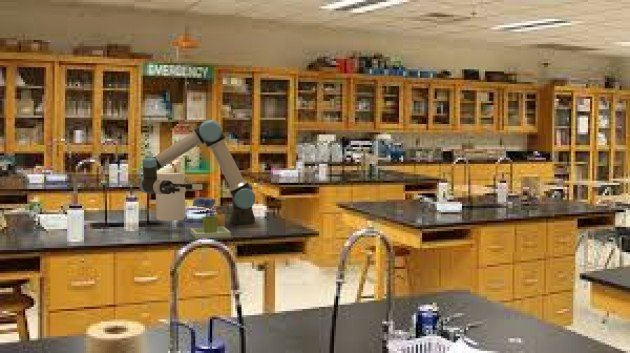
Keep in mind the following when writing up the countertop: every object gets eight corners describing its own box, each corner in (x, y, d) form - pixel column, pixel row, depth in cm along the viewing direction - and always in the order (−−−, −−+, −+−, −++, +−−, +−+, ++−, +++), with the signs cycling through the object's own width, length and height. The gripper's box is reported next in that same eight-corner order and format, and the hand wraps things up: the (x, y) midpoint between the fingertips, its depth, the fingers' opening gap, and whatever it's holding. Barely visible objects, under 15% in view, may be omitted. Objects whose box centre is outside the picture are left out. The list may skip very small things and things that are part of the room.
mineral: (196, 214, 438) (196, 198, 437) (191, 212, 446) (191, 197, 445) (218, 213, 445) (217, 197, 444) (212, 211, 453) (212, 196, 452)
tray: (223, 232, 375) (223, 226, 375) (230, 237, 358) (230, 232, 358) (190, 233, 369) (190, 228, 369) (196, 239, 352) (196, 233, 352)
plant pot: (212, 231, 371) (211, 215, 370) (223, 234, 364) (223, 217, 364) (198, 234, 364) (197, 217, 363) (209, 236, 358) (208, 219, 357)
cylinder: (182, 221, 412) (181, 174, 410) (153, 220, 412) (152, 174, 410) (187, 216, 429) (187, 171, 427) (160, 216, 430) (159, 171, 427)
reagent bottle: (223, 229, 384) (223, 205, 383) (226, 230, 379) (226, 207, 377) (213, 229, 382) (213, 206, 381) (215, 231, 377) (215, 207, 375)
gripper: (179, 191, 388) (209, 192, 377) (147, 196, 367) (178, 198, 356) (179, 177, 387) (208, 179, 377) (147, 182, 366) (177, 184, 355)
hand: (193, 188), depth 366 cm, fingers open, 13 cm apart
